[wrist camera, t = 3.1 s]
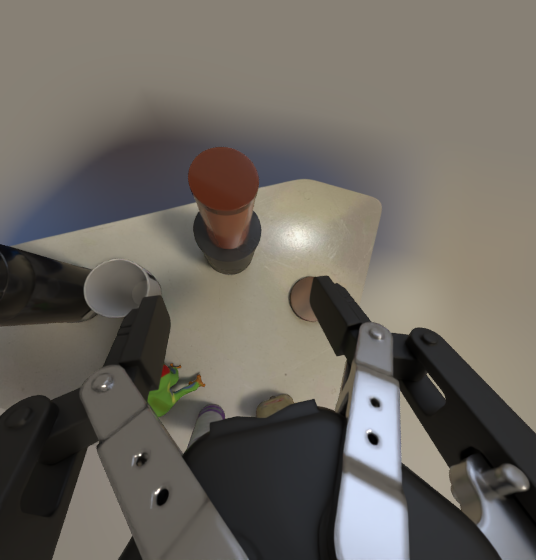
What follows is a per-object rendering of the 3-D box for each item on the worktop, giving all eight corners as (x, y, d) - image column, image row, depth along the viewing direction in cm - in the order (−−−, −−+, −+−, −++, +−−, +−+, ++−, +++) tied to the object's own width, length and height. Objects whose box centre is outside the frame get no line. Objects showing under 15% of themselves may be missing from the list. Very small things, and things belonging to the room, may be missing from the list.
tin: (194, 258, 41) (179, 236, 29) (222, 219, 43) (218, 185, 31) (236, 285, 42) (237, 274, 30) (262, 245, 44) (273, 221, 32)
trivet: (281, 305, 42) (282, 305, 42) (303, 268, 44) (304, 268, 43) (318, 329, 43) (320, 330, 42) (339, 292, 45) (341, 291, 44)
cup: (178, 284, 40) (160, 275, 30) (155, 323, 38) (128, 328, 29) (138, 264, 39) (106, 248, 30) (112, 303, 38) (70, 301, 28)
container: (217, 436, 37) (207, 518, 23) (192, 427, 37) (165, 503, 22) (229, 409, 38) (226, 470, 24) (205, 399, 38) (187, 456, 23)
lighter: (258, 423, 39) (267, 461, 29) (253, 402, 39) (260, 433, 29) (295, 410, 40) (315, 441, 30) (289, 389, 40) (307, 414, 31)
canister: (196, 234, 30) (172, 183, 18) (221, 200, 31) (214, 133, 19) (234, 258, 30) (234, 224, 18) (257, 224, 31) (271, 172, 20)
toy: (196, 342, 39) (184, 353, 29) (208, 392, 38) (199, 419, 28) (111, 368, 36) (65, 389, 26) (121, 422, 35) (79, 464, 26)
